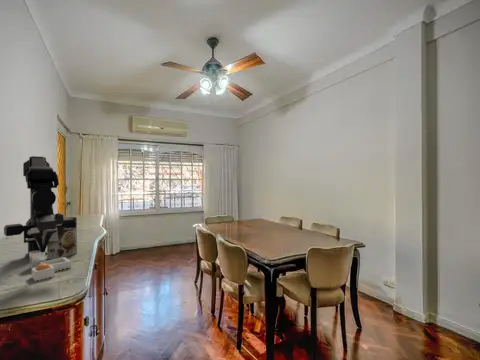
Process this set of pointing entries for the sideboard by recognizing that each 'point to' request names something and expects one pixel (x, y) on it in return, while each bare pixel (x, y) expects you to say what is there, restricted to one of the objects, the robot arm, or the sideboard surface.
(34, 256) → the billet
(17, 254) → the sideboard surface
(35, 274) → the button housing
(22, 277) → the sideboard surface
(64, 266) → the white square tray
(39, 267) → the button
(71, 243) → the coffee box
